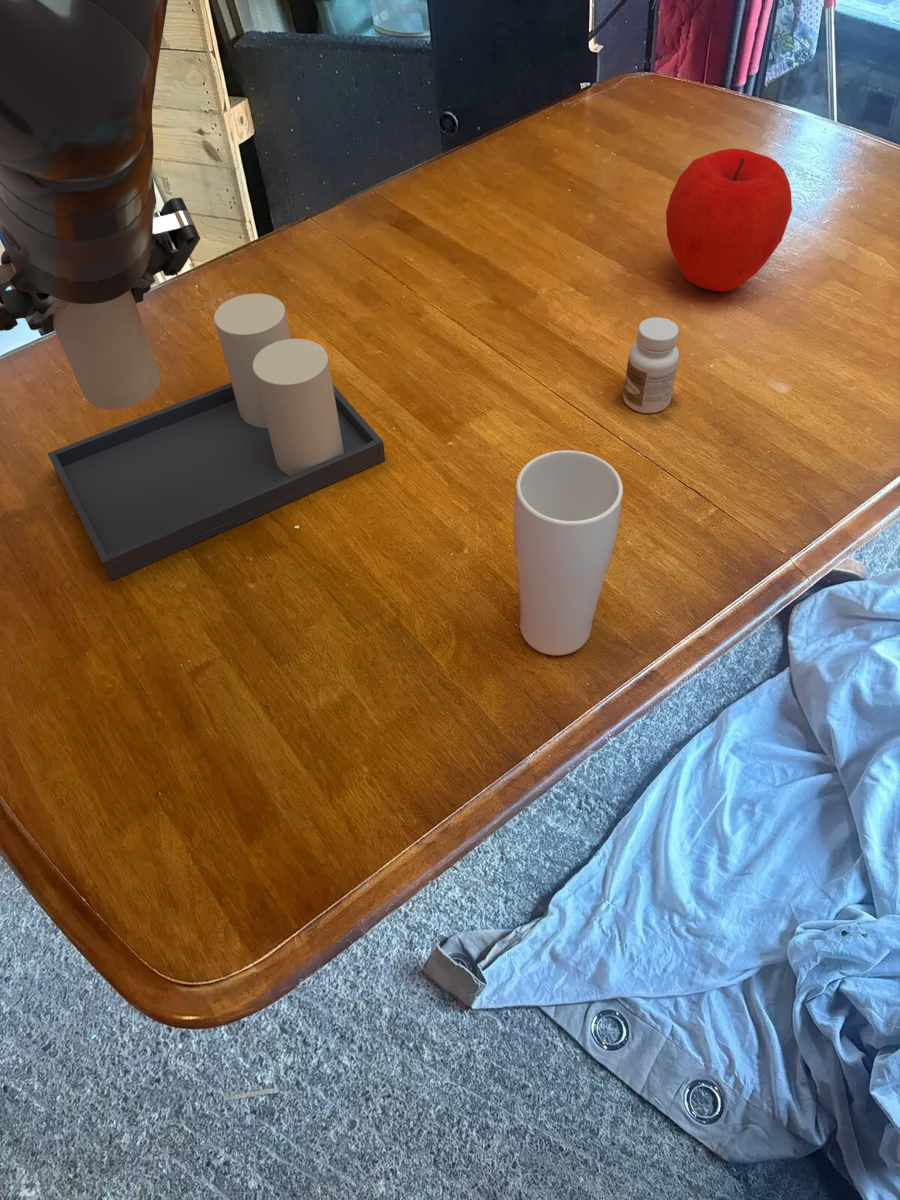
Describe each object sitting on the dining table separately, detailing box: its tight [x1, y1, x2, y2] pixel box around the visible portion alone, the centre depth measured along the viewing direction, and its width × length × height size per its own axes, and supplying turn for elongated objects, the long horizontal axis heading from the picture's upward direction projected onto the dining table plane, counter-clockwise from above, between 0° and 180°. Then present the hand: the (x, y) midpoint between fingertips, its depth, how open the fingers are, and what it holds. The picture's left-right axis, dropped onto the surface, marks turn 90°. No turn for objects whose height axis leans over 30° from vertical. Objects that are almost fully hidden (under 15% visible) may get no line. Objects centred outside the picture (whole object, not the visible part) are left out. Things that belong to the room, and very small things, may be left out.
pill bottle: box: [622, 316, 680, 414], centre depth 80 cm, size 4×4×8 cm
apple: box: [665, 148, 793, 292], centre depth 89 cm, size 12×12×13 cm
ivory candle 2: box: [253, 338, 344, 476], centre depth 75 cm, size 6×6×10 cm
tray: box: [47, 382, 386, 581], centre depth 78 cm, size 25×15×2 cm, turn 122°
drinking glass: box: [512, 449, 624, 656], centre depth 61 cm, size 7×7×15 cm
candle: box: [50, 289, 161, 410], centre depth 60 cm, size 6×6×10 cm
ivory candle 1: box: [213, 293, 292, 428], centre depth 79 cm, size 6×6×10 cm
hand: (87, 303), depth 60 cm, fingers closed on candle, 5 cm apart
